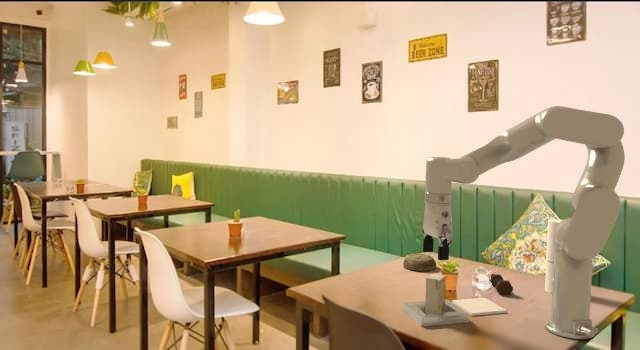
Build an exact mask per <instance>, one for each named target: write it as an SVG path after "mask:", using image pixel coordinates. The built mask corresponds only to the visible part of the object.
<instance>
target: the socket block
mask: <svg viewBox="0 0 640 350" xmlns="http://www.w3.org/2000/svg"><path fill="white" fill-rule="evenodd" d="M425 302H426V300H423V301H422V300H421V301H411V302H410V301H409V302H402V303H403V304H402V309H403V310H402V311H403V312H404V313H405V314H406V315H407V316H409V317H410V318H411V319H412V320H413V321H414V322H415V323H417V324H418V325H419V326H420V327H429V326H430V327H431V326H432V327H434V326H443V325H444V326H445V325H454V324H465V323H469V322H470V314H468V313H467V312H465V311H464V310H463V309H461V308H460V307H458V306H457V305H455V304H454V303H452V300H449V299H447V298H445V313H434V314H425Z"/></svg>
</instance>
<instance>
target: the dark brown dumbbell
mask: <svg viewBox="0 0 640 350" xmlns="http://www.w3.org/2000/svg"><path fill="white" fill-rule="evenodd" d="M490 276H491V282H490V284H491V283H492V284H491V286H493V287H495V289H496V291H497V293H498V295H499V296H510V295H511V294H512V292H513V291H514V286H512V284H511V281H510V280H504V278H503V276H502V275H501V274H499V273H498V274H495V273H492V274H490Z"/></svg>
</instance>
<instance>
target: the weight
mask: <svg viewBox="0 0 640 350" xmlns="http://www.w3.org/2000/svg"><path fill="white" fill-rule="evenodd" d="M402 265H403V268H404V269H407V270H409V271H415V272H416V271H418V272H425V271H426V272H427V271H433V270H434V269H436V268H437V262H436V260H435V258H434V257H433V256H431V255H429V254H425V253H409V254H407V255H406V256H405V257H404V260H403V264H402Z"/></svg>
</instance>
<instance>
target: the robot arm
mask: <svg viewBox="0 0 640 350" xmlns="http://www.w3.org/2000/svg"><path fill="white" fill-rule="evenodd" d="M624 133H625V128H624V125H623V122H622V121H621V120H620V119H619V118H618V117H617V116H614V115H612V114H609V113H604V112H603V113H602V112H596V111H590V110H583V109H580V108H579V109H578V108H571V107H569V106H568V107H567V106H561V105H554V106H551V107H548V108H545V109H542V110H541V111H539V112H537V113H536V114H533V115H532V116H530V117H528V118H527V119H525V120H523V121H521V122H520V123H517V124H516V125H514V126H512V127H511V128H509V129H507V130H505V131H503V132H502V133H499V134H497V136H495V137H494V138H493V139H491V140H490V141H488V142H486V143H484V144H483V145H480V146H478V147H477V148H475V149H473V150H472V151H469V152H467V154H464V155H463V156H461V157H459V158H450V157H447V156H446V157H445V156H431V157H429V158H427V159H426V164H425V184H424V185H425V187H424V204H425V205H424V211H423V212H424V213H423V222H422V223H421V226H422V233H423V235H422V240H423V241H422V242H423V243H422V251H423V252H424V253H433V252H434V244H435V243H434V239H436V240H437V241H438V244H439V246H437V247H438V248H437V260H438V261H449V258H450V247H451V243H452V240H453V236H454V235H453V214H452V213H453V211H452V205H451V203H452V187H453V186H452V184H453V183H457V184H458V183H459V184H461V185H462V184H463V185H469V184H473V183H474V182H476V181H477V180H478V178H479V177H480V176H481V175H482V174H484V173H487V172H488V171H490V170H492V169H495V168H496V167H498V166H500V165H501V166H502V165H503V164H505V163H509V162H513V161H514V162H515V161H516V160H519V159H520V158H523V157H524V156H526V155H528V154H530V153H532V152H533V151H536V150H537V149H539V148H541V147H543V146H544V145H547V144H549V143H550V142H552V141H554V140H556V139H557V140H562V141H566V142H570V143H576V144H581V145H585V147H586V149H587V161H586V164H585V166H584V167H585V168H584V170H583V172H582V175H581V177H580V179H579V181H578V182H577V185H576V187H575V190H574V191H573V193H572V196H571V205H572V207H573V208H574V213H573V214H572V217H568V218H565V219H561V220H562V221H561V222H560V223H558V225H557V226H556V228H555V230H554V234H553V247H554V270H553V289H552V293H551V313H550V314H551V316H550V318H548V319H546V320H545V322H544V327H545V329H546V330H547V331H549V332H550V333H552V334H554V335H557V336H560V337H563V338H567V339H575V340H589V339H592V338H594V337H595V336H596V335H597V334H598V333H599V329H598V328H596V327H594V326H593V320H592V319H591V318H590V317H591V301H592V300H591V298H592V296H591V295H592V282H593V281H592V280H593V259H595V258H596V257H597V256H598V255H600V253H602V251H603V250H604V247H605V245H606V243H607V241H608V238H609V236H610V235H611V232H612V230H613V228H614V226H615V223H616V222H617V218H618V217H619V214H620V210H621V199H620V196H619V195H618V193H617V192H616V190H615V189H616V187H617V185H618V183H619V179H620V177H621V174H622V172H623V168H624V165H625V150H624V146H623V143H622V139H623V137H624V135H625V134H624Z"/></svg>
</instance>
